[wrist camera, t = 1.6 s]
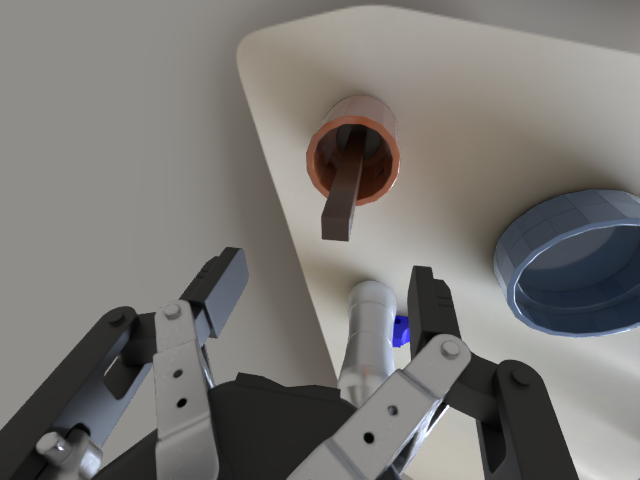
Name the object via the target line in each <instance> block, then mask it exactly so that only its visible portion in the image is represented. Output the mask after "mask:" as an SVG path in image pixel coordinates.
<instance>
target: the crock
mask: <svg viewBox="0 0 640 480" xmlns="http://www.w3.org/2000/svg"><path fill="white" fill-rule="evenodd" d="M343 124H363V125H365V126H367V127H369V128H371V129H373V130H376V131H377V132H378V133H379V134H380V135H381V143H380V146H379V149H378V150H377V152H376V153H375V154H374V155H373V156H372V157H371V158H369V159H367V160H364V161H363V167H362V172H361V178H360V183H359V189H358V194H357V200H356V206H360V205H364V204H367V203H371V202H374V201H376V200H378V199H379V198H380V197H382V196H383V195H384V194H386V193H387V192H388V191H389V190H390V189H391V187H392V185H393V184H394V182H395V180H396V179H397V177H398V175H399V167H400V160H401V156H400V144H399V132H398V127H397V123H396V119H395V117H394V115H393V113H392V111H391V110H390V109H389V107H388V106H387V105H386V104H385V103H383V102H382V101H380V100H379V99H377V98H374V97H372V96H368V95H355V96H350V97H347V98H345V99H343V100H341V101H340V102H338V103H337V104H336V105H335V106H334V107H333V108H332V109H331V110H330V111H329V112H328V114H327V115H326V117H325V118H324V120H323V121H322V123H321V124H320V126H319V127H318V129H317V130H316V132H315V134H314V135H313V137H312V139H311V141H310V144H309V147H308V150H307V152H306V162H307V172H308V174H309V176H310V178H311V181H312V183H313V185H314V186H315V188H316V189H317V190H319V191H320V192H321V193H322V194H323V195H324V196H325V197H326V198H328V196H329V193H330V190H331V187H332V184H333V181H334V178H335V175H336V172H337V169H338V166H339V163H340V161H341V158H342V154H341V153H340V151H339V149H338V147H337V143H336V135H337V131H338V129H339V127H340V126H341V125H343Z"/></svg>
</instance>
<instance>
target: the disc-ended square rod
mask: <svg viewBox="0 0 640 480" xmlns="http://www.w3.org/2000/svg"><path fill="white" fill-rule="evenodd" d="M336 143H337V147H338V149H339V151H340V153H341V154H342V158H341V161H340V163H339V166H338V169H337V172H336V175H335V178H334V181H333V184H332V187H331V190H330V193H329V196H328V198H327V201H326V204H325V207H324V210H323V213H322V216H321V223H322V239H325V240H336V241H349V239H350V233H351V228H352V222H353V217H354V211H355V206H356V200H357V194H358V189H359V183H360V178H361V172H362V167H363V161H364V160H367V159H369V158H371V157H372V156H373V155H374V154H375V153H376V152H377V150H378V149H379V146H380V143H381V135H380V134H379V133H378V132H377V131H376V130H373V129H371V128H369V127H367V126H365V125H363V124H343V125H341V126H340V127H339V129H338V131H337V135H336Z"/></svg>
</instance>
